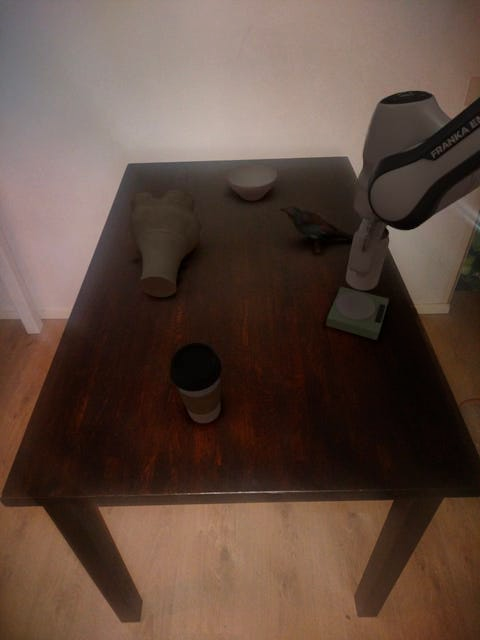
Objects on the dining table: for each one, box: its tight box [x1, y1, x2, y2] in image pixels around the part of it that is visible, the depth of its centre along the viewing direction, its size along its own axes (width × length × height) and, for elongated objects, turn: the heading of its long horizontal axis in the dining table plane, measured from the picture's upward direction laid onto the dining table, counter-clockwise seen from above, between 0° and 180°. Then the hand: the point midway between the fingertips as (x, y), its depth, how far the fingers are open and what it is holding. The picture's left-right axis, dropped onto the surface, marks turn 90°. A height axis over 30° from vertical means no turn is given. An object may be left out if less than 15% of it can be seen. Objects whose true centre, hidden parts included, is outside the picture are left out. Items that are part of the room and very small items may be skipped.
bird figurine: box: [279, 205, 354, 254], centre depth 101 cm, size 13×10×20 cm
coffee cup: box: [169, 342, 223, 424], centre depth 66 cm, size 8×8×15 cm
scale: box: [325, 286, 390, 341], centre depth 84 cm, size 11×11×3 cm
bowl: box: [226, 162, 278, 202], centre depth 123 cm, size 16×16×7 cm
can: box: [345, 224, 390, 292], centre depth 74 cm, size 6×6×12 cm
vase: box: [129, 189, 203, 298], centre depth 93 cm, size 22×22×28 cm
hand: (365, 263), depth 75 cm, fingers closed on can, 6 cm apart
